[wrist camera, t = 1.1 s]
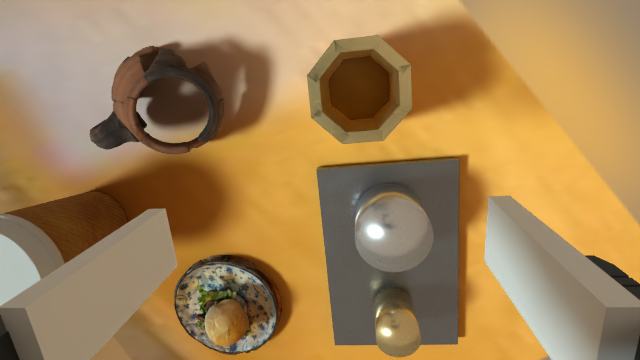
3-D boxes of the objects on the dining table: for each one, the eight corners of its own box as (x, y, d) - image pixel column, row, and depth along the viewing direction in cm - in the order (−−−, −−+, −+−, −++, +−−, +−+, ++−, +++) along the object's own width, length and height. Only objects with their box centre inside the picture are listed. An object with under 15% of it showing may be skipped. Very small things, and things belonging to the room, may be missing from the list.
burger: (171, 256, 39) (129, 295, 32) (274, 250, 38) (254, 291, 30) (193, 345, 42) (160, 399, 35) (289, 343, 41) (274, 400, 34)
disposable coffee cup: (47, 181, 38) (-89, 227, 26) (127, 171, 36) (21, 214, 25) (76, 260, 40) (-37, 333, 29) (152, 253, 39) (66, 327, 27)
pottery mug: (172, 17, 32) (175, 29, 26) (236, 98, 38) (252, 124, 31) (67, 96, 32) (43, 128, 26) (147, 165, 38) (144, 205, 31)
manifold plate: (317, 167, 34) (309, 185, 28) (456, 157, 33) (477, 174, 27) (335, 338, 40) (331, 382, 34) (455, 337, 38) (472, 384, 32)
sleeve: (316, 52, 31) (303, 43, 24) (396, 43, 30) (409, 31, 23) (324, 130, 33) (314, 146, 25) (399, 124, 32) (412, 138, 25)
